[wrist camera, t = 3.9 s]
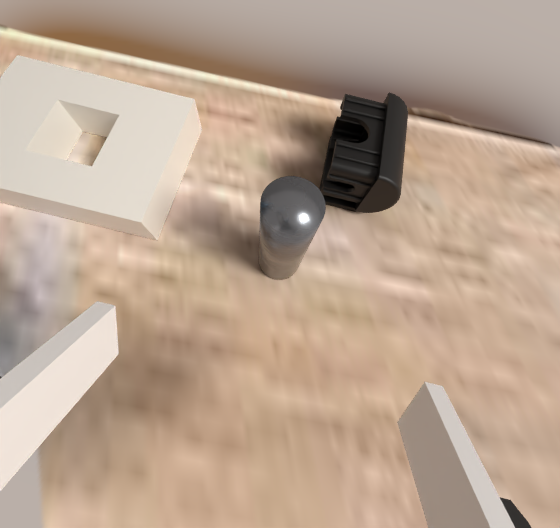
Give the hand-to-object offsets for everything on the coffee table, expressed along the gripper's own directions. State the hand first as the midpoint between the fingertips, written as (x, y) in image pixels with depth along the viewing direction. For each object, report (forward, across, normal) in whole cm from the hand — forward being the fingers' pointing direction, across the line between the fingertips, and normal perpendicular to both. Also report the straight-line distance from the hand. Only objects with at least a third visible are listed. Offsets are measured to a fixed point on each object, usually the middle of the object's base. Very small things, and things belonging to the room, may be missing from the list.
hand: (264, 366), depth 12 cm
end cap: (+25, +6, +6) cm, 26 cm away
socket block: (+20, -22, +2) cm, 29 cm away
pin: (+16, 0, -3) cm, 16 cm away
